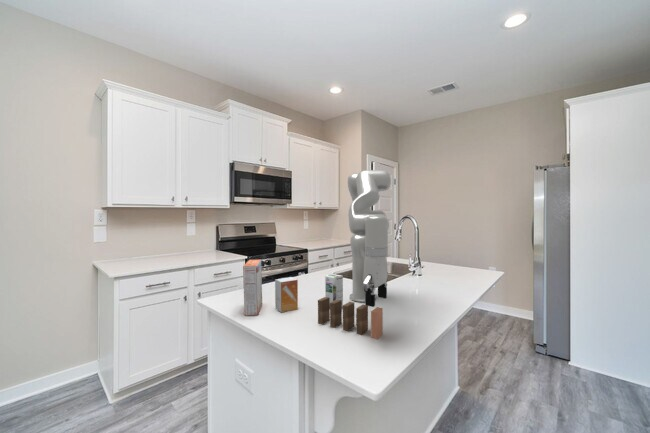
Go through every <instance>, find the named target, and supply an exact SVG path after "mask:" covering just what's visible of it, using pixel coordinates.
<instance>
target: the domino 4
mask: <svg viewBox="0 0 650 433" xmlns="http://www.w3.org/2000/svg"><path fill="white" fill-rule="evenodd" d="M355 308H356V309H355V311H356V312H355V313H356V319H355V320H356V322H355V323H356V326H355V327H356V335H358V336H363V335H364V334H366V333H367V332H368V331H369V306H366V305H365V303H364V304H362V305H360V306H358V307H355Z"/></svg>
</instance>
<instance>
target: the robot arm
mask: <svg viewBox="0 0 650 433" xmlns="http://www.w3.org/2000/svg"><path fill="white" fill-rule="evenodd" d="M391 182H392V180H391V175H390V173H389V172H388V171H387V170H384V169H367V170H366V169H365V170H361V171H360V172H358V173H357V172H356V173H353V174H350V175H349V176H348V178H347V188H348V191H349V194H350V196H351V200H352V202H351V204H350V205H349V209H348V215H347V216H348V227H349V231H350V232H351V233H352V236H350V241H349V242H350V250H351V260H352V261H351V262H352V264H351V268H352V273H351V274H352V293H351V294H349V300H351V301H352V302H357V303H364V305H366V306H368V307H371V308H374V307H375V306H376V295H375V290H376V288H377V298H381V299H387V298H388V294H387V292H388V291H387V290H388V283H387V282H388V275H389V273H388V272H389V271H388V261H387V258H389V257H388V256H389V252H388V250H389V248H388V246H389V243H388V242H389V240H388V239H389V236H388V235H389V233H388V232H389V231H388V230H389V227H390V222H389V218H387V215H386V213H385V212H384V211H383V210H380V209H379V210H378V209H377V210H372V208H371V207H373V206H375V205H377V204H378V202H379V200H380V192H385V191H388V190H389V189H390V187H391V184H392V183H391Z"/></svg>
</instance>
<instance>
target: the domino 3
mask: <svg viewBox="0 0 650 433" xmlns="http://www.w3.org/2000/svg"><path fill="white" fill-rule="evenodd" d="M355 313H356V312H355V301H348V302H346V303H345V304H344V303H343V308H342V331H344V332H347V333H348V332H349V331H351V330H352V329H353V328H355V327H356V326H355V323H356V322H355V320H356V319H355Z"/></svg>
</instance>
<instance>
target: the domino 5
mask: <svg viewBox="0 0 650 433" xmlns="http://www.w3.org/2000/svg"><path fill="white" fill-rule="evenodd" d="M383 310H384V309H383V307H377V306H376V308H374V309H372V310H371V311H370V338H371V339H375V340H378V339H379V338H380V337H382V335H383V334H384V331H383V328H384V326H383V322H384V320H383V319H384V317H383V315H384V313H383Z"/></svg>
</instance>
